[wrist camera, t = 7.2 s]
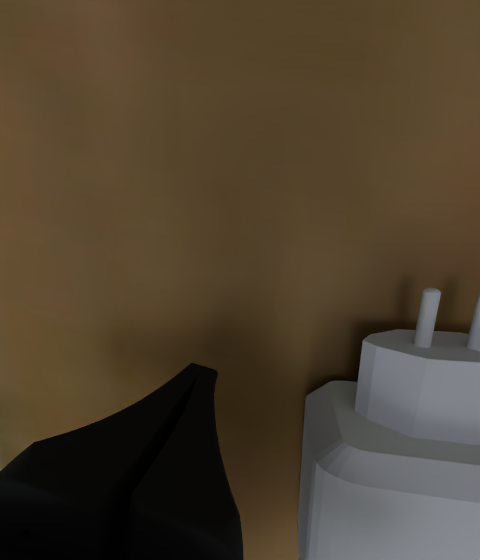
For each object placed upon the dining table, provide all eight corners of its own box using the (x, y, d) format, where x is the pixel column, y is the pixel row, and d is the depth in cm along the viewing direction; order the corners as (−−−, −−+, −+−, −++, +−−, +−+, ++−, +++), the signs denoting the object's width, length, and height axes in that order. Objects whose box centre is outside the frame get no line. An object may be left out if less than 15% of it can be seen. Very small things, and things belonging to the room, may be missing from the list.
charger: (546, 275, 10) (466, 539, 14) (311, 270, 11) (296, 510, 15) (765, 326, 6) (557, 697, 9) (330, 307, 7) (302, 636, 11)
